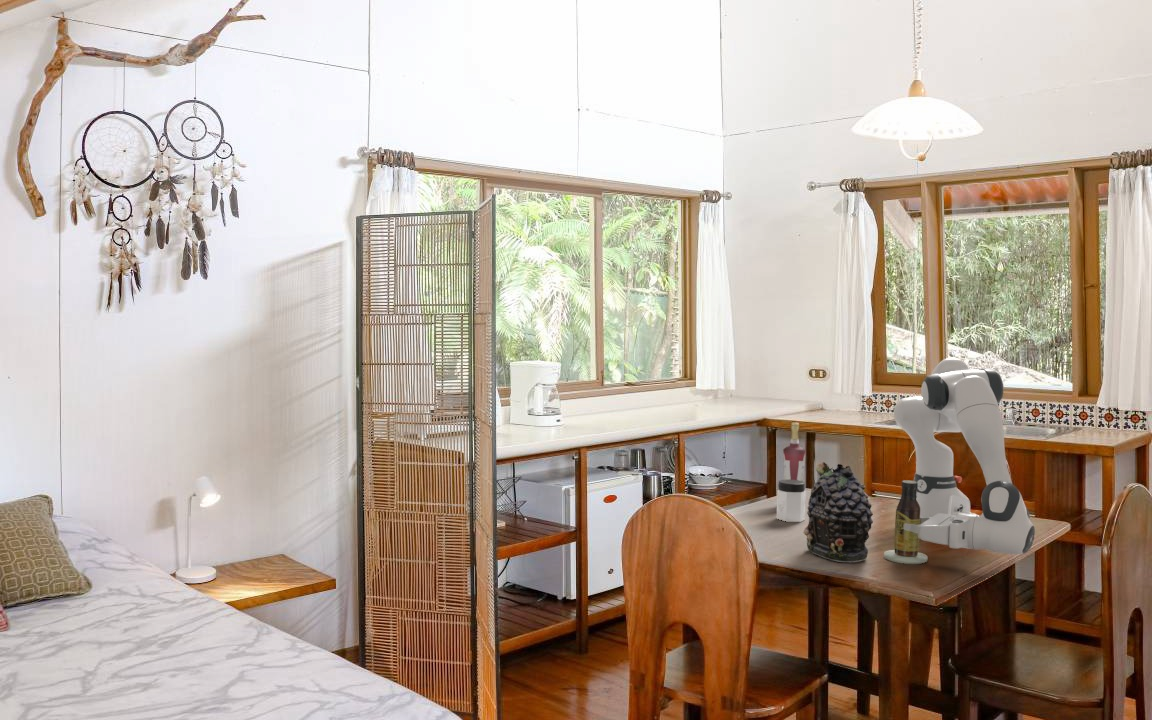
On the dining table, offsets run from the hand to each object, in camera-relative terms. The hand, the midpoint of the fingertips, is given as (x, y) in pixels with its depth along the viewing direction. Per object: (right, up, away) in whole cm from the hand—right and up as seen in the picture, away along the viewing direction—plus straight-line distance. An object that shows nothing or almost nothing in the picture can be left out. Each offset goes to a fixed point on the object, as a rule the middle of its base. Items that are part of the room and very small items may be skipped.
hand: (909, 523), depth 255 cm
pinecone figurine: (-18, -10, +3) cm, 21 cm away
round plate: (-1, -10, +1) cm, 10 cm away
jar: (-21, -7, +47) cm, 52 cm away
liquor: (-15, -6, +69) cm, 71 cm away
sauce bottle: (0, -9, +1) cm, 9 cm away
